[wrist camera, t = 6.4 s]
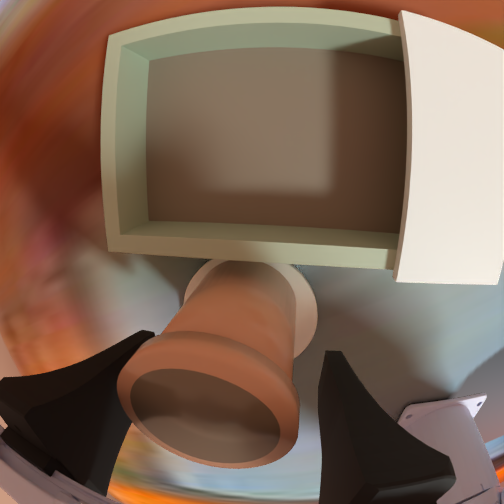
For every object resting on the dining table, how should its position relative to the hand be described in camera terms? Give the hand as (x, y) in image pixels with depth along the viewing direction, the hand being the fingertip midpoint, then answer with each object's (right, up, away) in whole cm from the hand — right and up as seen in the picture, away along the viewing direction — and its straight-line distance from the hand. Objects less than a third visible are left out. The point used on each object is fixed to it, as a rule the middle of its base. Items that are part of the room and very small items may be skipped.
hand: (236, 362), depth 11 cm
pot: (0, +2, +3) cm, 4 cm away
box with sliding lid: (+3, +10, +1) cm, 10 cm away
